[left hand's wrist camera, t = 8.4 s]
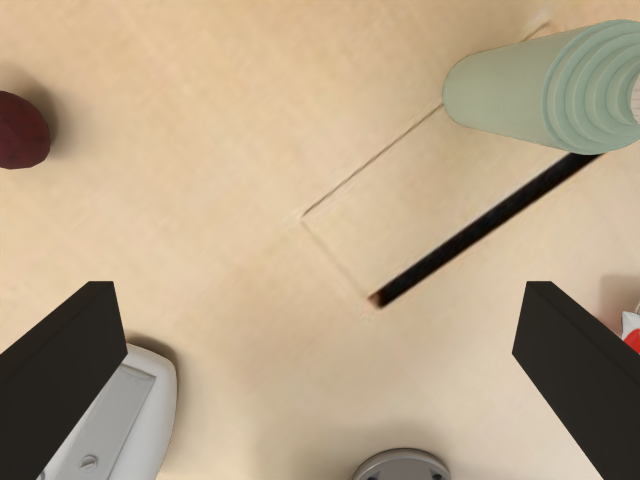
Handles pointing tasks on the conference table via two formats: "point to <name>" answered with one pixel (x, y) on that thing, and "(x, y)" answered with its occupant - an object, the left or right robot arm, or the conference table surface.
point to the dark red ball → (21, 133)
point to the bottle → (553, 89)
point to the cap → (636, 100)
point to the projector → (122, 424)
